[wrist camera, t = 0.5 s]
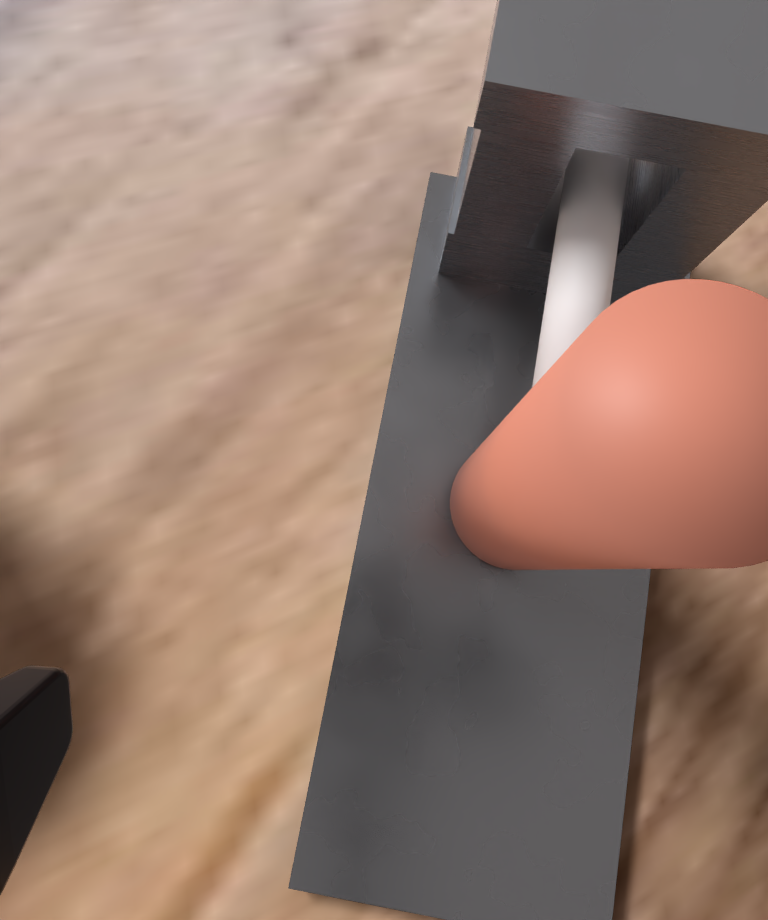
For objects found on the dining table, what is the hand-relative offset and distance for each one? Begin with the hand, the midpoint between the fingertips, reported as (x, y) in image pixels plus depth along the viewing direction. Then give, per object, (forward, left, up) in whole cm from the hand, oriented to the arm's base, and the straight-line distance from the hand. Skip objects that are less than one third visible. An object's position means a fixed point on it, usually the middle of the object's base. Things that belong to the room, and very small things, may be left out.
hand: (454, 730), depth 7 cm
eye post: (+6, -1, -14) cm, 16 cm away
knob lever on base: (+11, +2, -13) cm, 17 cm away
